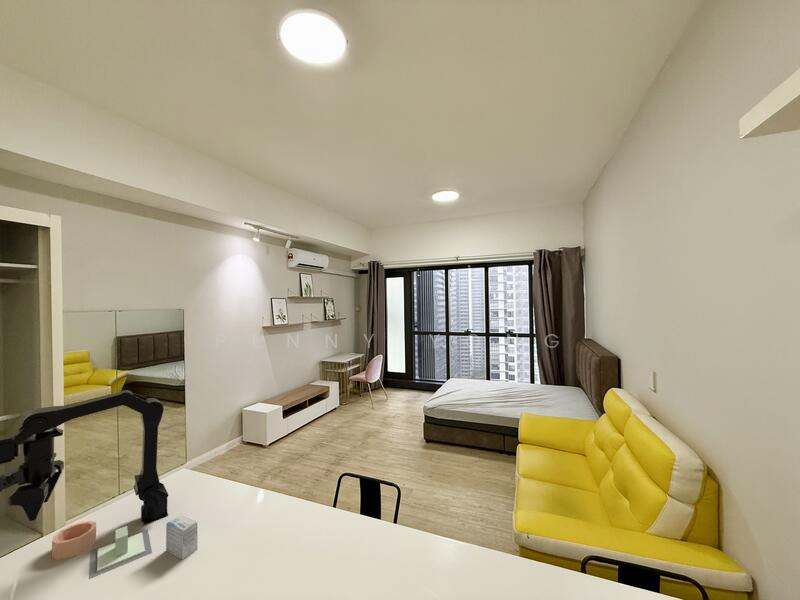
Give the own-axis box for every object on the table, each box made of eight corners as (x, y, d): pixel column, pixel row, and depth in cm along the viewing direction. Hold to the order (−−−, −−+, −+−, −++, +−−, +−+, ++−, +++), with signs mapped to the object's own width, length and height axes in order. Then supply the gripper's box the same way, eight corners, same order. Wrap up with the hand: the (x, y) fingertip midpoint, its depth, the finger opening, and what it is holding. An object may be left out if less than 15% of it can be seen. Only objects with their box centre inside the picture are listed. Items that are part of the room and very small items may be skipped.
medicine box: (198, 550, 93) (198, 521, 93) (182, 562, 89) (182, 530, 89) (181, 542, 96) (181, 513, 97) (165, 552, 92) (165, 522, 93)
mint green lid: (142, 533, 99) (142, 516, 99) (144, 552, 92) (145, 533, 92) (97, 550, 92) (98, 531, 92) (97, 572, 85) (97, 551, 85)
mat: (147, 530, 101) (147, 529, 101) (152, 554, 92) (152, 552, 92) (90, 552, 92) (90, 550, 92) (89, 580, 83) (89, 579, 83)
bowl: (96, 533, 100) (96, 517, 100) (95, 549, 93) (95, 532, 94) (54, 547, 94) (54, 530, 94) (50, 566, 87) (50, 548, 87)
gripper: (9, 450, 92) (10, 504, 92) (-24, 479, 77) (-24, 544, 77) (64, 440, 99) (64, 490, 99) (43, 466, 83) (43, 525, 83)
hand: (39, 510), depth 89 cm, fingers open, 9 cm apart
